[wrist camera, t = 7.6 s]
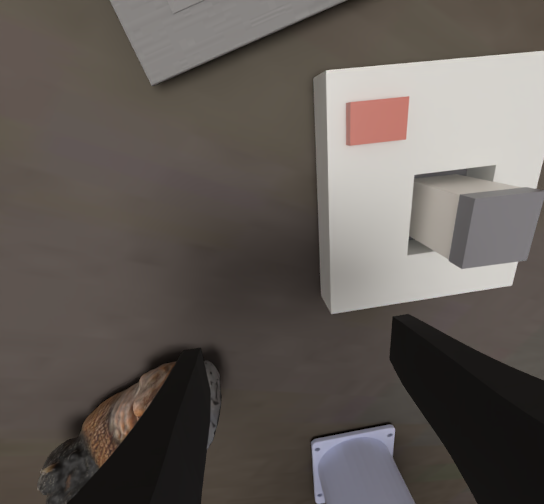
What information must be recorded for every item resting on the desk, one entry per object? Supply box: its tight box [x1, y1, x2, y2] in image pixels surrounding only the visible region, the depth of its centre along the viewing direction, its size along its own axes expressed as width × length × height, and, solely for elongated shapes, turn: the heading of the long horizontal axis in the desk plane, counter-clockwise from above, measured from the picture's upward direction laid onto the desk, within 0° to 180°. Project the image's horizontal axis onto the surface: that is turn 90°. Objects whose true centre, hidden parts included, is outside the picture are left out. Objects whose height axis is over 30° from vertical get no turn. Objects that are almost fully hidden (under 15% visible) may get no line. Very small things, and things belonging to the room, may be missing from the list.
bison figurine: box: [37, 361, 221, 504], centre depth 20 cm, size 12×7×10 cm
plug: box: [409, 174, 544, 269], centre depth 17 cm, size 4×4×6 cm
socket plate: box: [313, 51, 544, 314], centre depth 19 cm, size 14×13×3 cm
